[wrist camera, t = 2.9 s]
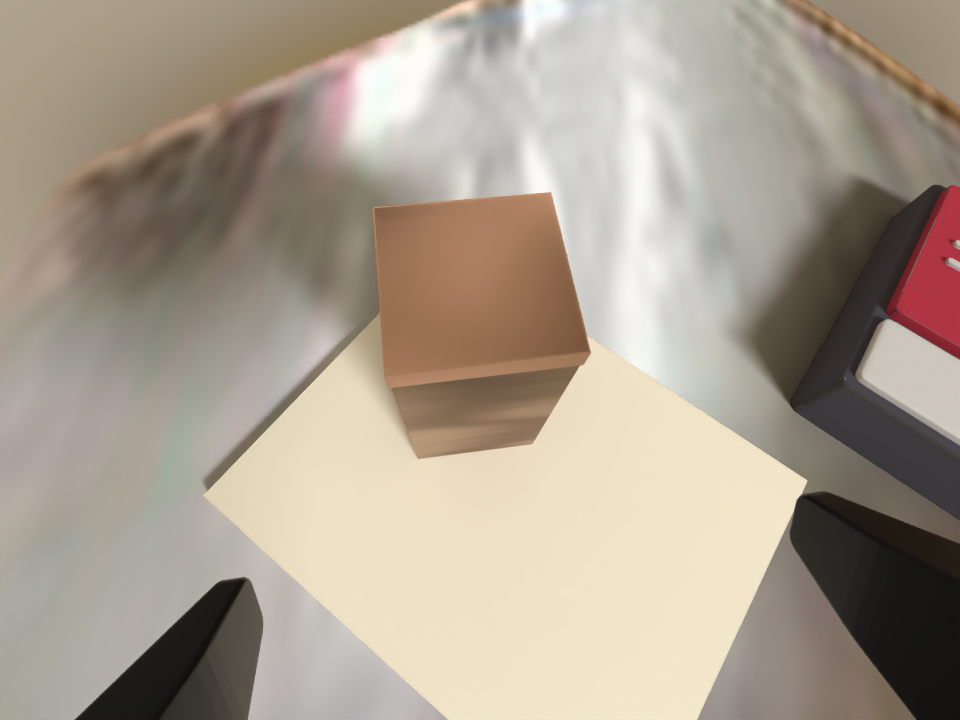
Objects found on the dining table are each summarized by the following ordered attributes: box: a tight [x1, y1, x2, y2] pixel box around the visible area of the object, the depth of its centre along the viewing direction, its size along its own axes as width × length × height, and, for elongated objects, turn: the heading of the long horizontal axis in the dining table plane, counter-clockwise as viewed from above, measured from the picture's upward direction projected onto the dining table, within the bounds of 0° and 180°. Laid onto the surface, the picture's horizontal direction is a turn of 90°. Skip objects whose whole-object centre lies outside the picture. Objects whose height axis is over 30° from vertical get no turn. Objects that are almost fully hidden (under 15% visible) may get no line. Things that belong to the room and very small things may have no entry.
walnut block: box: [372, 192, 591, 459], centre depth 17 cm, size 5×5×10 cm
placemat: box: [203, 313, 807, 720], centre depth 21 cm, size 20×16×1 cm
